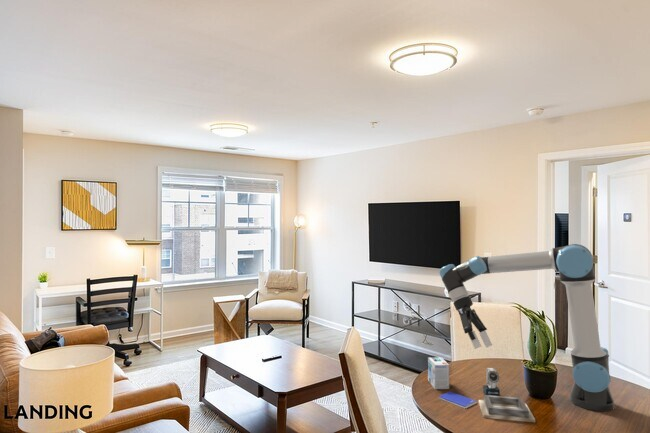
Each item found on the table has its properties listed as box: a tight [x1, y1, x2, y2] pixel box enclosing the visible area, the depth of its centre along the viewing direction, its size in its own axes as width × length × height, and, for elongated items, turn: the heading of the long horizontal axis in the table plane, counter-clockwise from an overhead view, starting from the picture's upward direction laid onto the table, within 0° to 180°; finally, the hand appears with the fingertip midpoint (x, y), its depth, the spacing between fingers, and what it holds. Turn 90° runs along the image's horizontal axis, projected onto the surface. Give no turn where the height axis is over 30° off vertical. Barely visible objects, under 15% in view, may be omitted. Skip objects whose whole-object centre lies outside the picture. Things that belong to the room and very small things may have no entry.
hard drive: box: [438, 391, 478, 409], centre depth 177 cm, size 2×8×12 cm
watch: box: [482, 367, 501, 396], centre depth 182 cm, size 6×8×11 cm
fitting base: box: [477, 394, 536, 423], centre depth 166 cm, size 18×14×4 cm
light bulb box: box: [427, 356, 450, 390], centre depth 194 cm, size 11×7×11 cm, turn 3°
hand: (483, 347), depth 177 cm, fingers open, 13 cm apart
